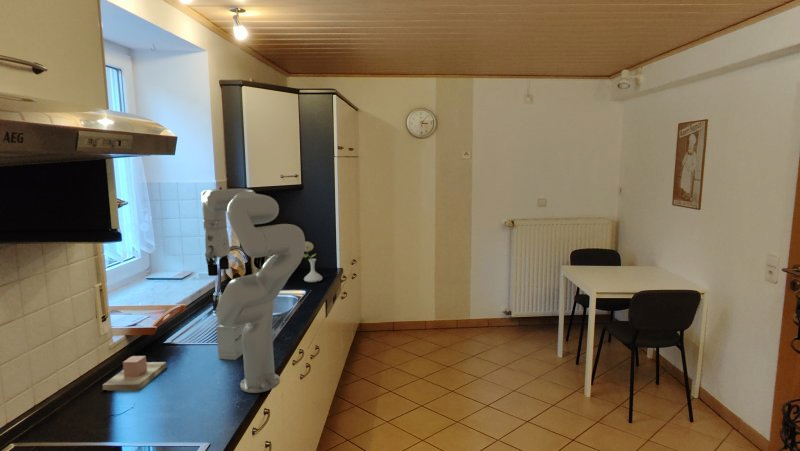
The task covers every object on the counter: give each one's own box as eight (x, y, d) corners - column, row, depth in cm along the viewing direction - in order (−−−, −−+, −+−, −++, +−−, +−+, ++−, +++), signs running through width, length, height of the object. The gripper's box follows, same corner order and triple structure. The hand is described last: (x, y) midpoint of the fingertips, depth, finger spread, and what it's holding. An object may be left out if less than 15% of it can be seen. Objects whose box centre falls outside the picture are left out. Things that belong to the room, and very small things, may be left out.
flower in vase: (325, 279, 292) (323, 239, 289) (319, 283, 281) (317, 242, 278) (305, 278, 294) (302, 239, 291) (298, 283, 283) (296, 243, 280)
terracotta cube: (138, 376, 158) (137, 362, 157) (124, 376, 158) (122, 362, 157) (147, 369, 163) (145, 356, 162) (133, 369, 163) (131, 356, 162)
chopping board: (133, 367, 169) (133, 362, 169) (166, 367, 169) (165, 362, 169) (103, 390, 152) (102, 384, 152) (139, 390, 152) (138, 384, 152)
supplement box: (235, 360, 174) (233, 327, 172) (217, 359, 175) (215, 326, 173) (246, 352, 181) (243, 321, 179) (228, 351, 182) (226, 320, 181)
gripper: (215, 227, 155) (219, 278, 157) (235, 221, 172) (238, 266, 175) (193, 228, 155) (197, 278, 158) (215, 221, 172) (218, 267, 175)
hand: (219, 272), depth 166 cm, fingers open, 9 cm apart
